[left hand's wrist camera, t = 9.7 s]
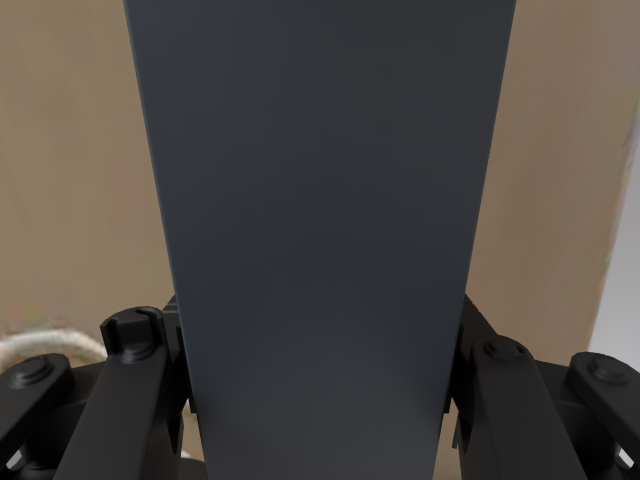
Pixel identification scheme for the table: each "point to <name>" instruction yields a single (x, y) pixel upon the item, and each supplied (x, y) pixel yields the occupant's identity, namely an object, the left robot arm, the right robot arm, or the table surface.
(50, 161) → the table surface
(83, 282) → the table surface
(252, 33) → the bar
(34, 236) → the table surface
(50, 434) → the left robot arm
